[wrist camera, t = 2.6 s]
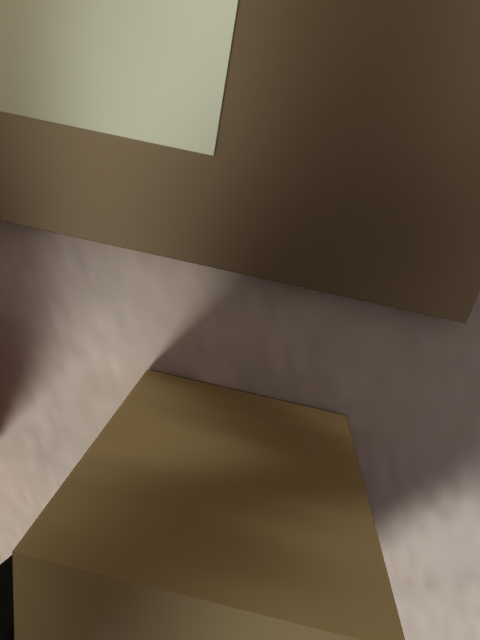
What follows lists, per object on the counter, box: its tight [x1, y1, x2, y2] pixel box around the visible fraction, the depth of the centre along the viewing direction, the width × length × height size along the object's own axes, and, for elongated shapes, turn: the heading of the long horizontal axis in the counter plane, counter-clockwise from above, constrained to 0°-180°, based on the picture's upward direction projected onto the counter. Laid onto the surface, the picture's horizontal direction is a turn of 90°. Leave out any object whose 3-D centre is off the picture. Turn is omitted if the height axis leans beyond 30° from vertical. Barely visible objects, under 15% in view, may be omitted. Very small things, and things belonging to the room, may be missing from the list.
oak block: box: [12, 370, 405, 640], centre depth 8 cm, size 5×7×5 cm
